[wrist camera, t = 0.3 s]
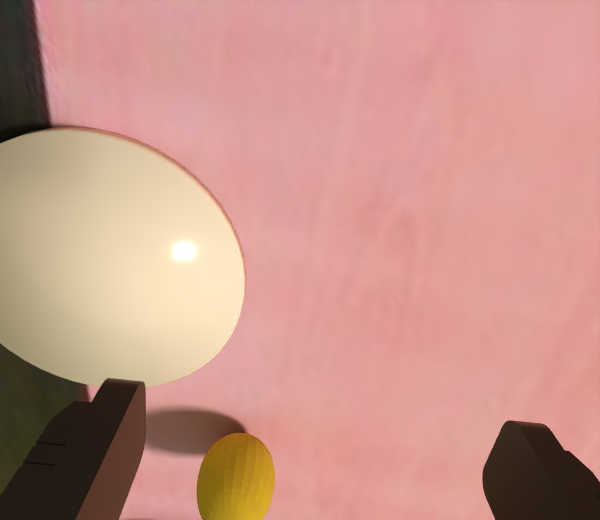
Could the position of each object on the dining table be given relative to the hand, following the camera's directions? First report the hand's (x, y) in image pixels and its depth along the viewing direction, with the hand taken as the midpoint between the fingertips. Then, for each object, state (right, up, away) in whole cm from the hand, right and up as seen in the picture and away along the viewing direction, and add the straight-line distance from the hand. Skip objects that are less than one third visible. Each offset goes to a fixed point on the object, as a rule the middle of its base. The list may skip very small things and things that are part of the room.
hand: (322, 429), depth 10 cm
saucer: (-13, +3, +18) cm, 23 cm away
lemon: (-5, -10, +26) cm, 28 cm away
